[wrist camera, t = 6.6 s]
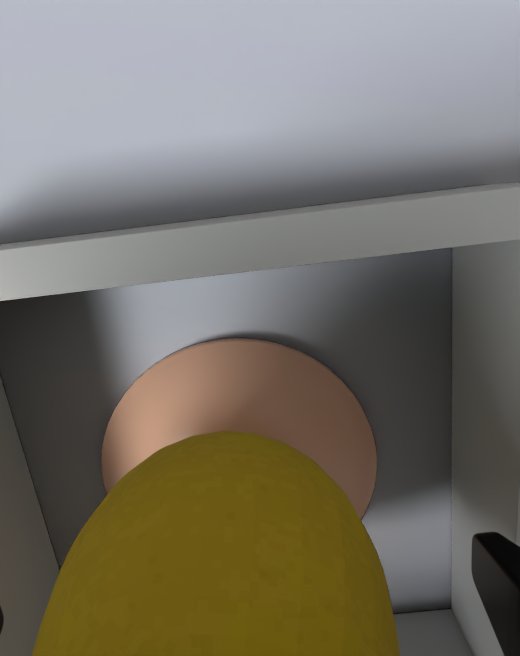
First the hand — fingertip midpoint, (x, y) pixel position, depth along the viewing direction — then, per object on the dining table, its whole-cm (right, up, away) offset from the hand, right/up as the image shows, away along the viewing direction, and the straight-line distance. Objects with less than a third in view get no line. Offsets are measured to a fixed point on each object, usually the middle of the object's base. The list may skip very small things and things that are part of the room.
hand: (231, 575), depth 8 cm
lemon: (0, +1, +3) cm, 3 cm away
